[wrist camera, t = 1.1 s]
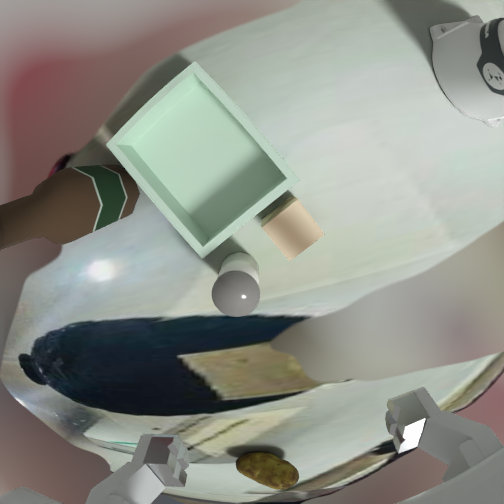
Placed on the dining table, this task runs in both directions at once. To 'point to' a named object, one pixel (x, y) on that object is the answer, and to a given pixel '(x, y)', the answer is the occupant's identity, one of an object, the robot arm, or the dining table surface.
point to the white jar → (237, 285)
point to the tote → (201, 160)
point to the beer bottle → (69, 205)
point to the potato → (268, 470)
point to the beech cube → (291, 227)
